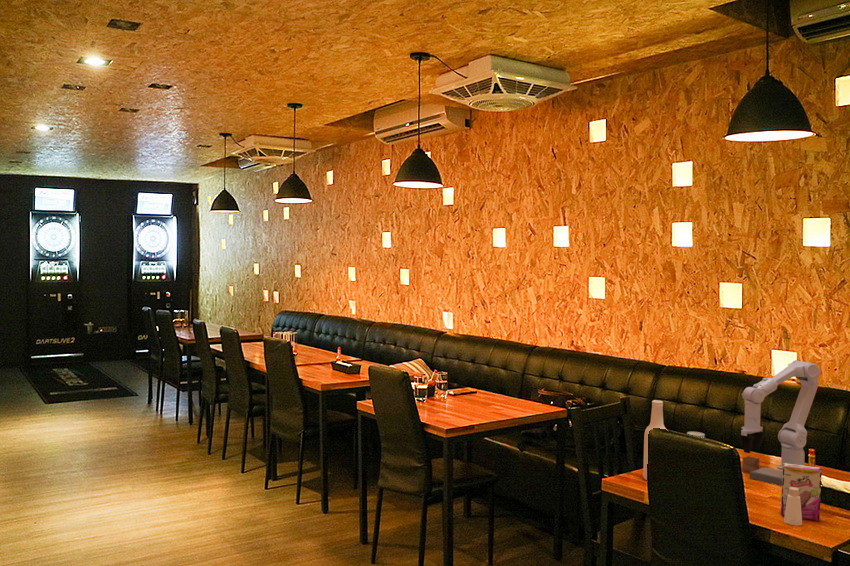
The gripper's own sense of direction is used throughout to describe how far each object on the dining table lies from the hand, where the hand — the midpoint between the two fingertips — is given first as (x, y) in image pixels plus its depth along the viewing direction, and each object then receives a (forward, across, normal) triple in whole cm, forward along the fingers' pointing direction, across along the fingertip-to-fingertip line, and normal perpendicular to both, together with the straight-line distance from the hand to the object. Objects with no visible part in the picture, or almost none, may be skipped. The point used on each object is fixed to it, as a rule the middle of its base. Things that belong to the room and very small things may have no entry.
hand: (751, 451), depth 281 cm
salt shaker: (+8, +50, +36) cm, 62 cm away
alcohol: (+8, +44, -16) cm, 47 cm away
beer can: (+8, +24, -11) cm, 27 cm away
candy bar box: (+8, +42, +35) cm, 55 cm away
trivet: (+8, +6, +11) cm, 15 cm away
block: (+8, 0, 0) cm, 8 cm away
